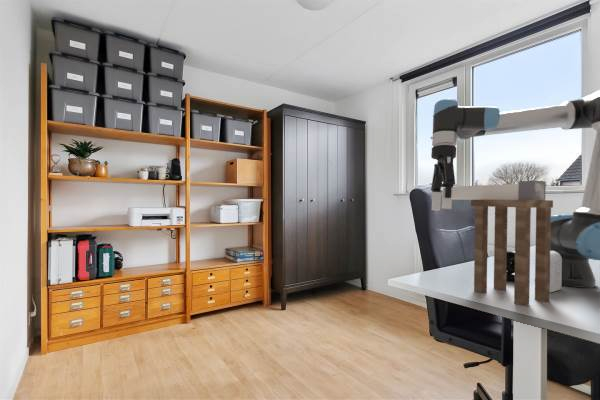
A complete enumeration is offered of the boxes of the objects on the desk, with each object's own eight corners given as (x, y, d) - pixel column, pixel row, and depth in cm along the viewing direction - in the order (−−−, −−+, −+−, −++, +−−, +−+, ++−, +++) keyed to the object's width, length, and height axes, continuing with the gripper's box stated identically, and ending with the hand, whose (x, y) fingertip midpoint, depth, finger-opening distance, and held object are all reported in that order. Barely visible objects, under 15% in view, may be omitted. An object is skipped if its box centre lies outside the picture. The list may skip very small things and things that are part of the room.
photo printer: (547, 286, 102) (547, 248, 102) (563, 289, 99) (564, 250, 99) (534, 290, 96) (534, 251, 96) (550, 294, 93) (551, 253, 93)
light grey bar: (459, 199, 110) (460, 185, 110) (545, 200, 85) (545, 181, 85) (449, 199, 108) (449, 184, 108) (533, 200, 83) (534, 180, 83)
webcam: (505, 282, 106) (505, 253, 106) (491, 277, 114) (492, 249, 114) (527, 282, 106) (528, 253, 106) (512, 277, 114) (513, 249, 114)
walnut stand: (495, 286, 101) (496, 200, 101) (551, 301, 86) (552, 200, 86) (469, 289, 96) (470, 199, 96) (523, 306, 82) (525, 199, 82)
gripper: (424, 154, 117) (421, 210, 116) (441, 136, 93) (438, 207, 91) (445, 154, 116) (442, 211, 114) (468, 136, 91) (465, 208, 90)
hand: (440, 209), depth 103 cm, fingers open, 13 cm apart
